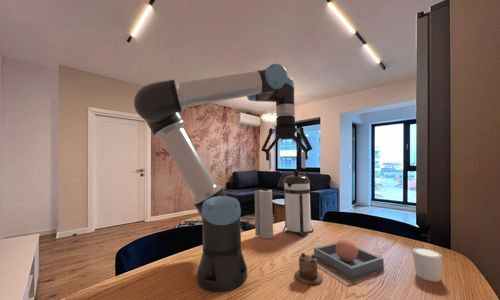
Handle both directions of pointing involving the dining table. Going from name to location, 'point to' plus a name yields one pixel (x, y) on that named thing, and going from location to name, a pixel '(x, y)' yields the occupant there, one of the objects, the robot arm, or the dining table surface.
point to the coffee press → (297, 204)
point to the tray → (353, 269)
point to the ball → (346, 250)
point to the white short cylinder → (427, 264)
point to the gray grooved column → (263, 214)
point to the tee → (308, 271)
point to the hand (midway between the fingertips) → (287, 168)
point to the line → (333, 275)
